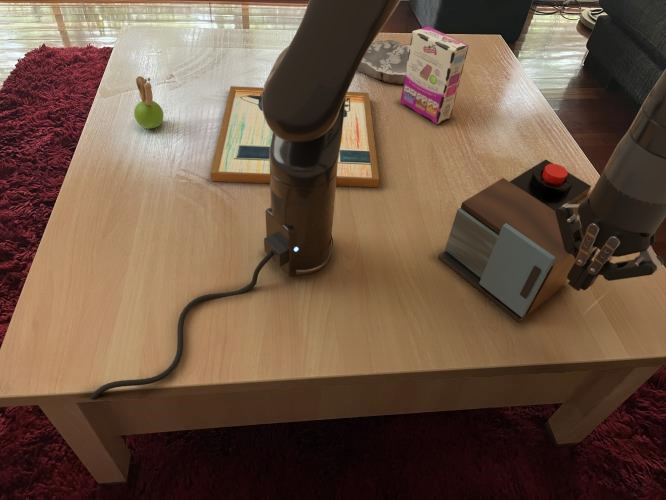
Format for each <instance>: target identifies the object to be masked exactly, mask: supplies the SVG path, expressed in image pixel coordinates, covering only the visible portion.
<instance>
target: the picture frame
mask: <svg viewBox="0 0 666 500" xmlns="http://www.w3.org/2000/svg"><path fill="white" fill-rule="evenodd" d="M229 87H230V88H229V91H228V96H227V99H226V103H225V104H226V105H225V108H224V113H223V116H222V121H221V126H220V130H219V134H218V138H217V142H216V146H215V151H214V156H213V160H212V164H211V168H210V172H209V173H210V180H211V182H225V183H228V182H229V183H250V184H251V183H253V184H270V163H269V150H270V144H271V139H272V133H273V132H272V130H271V129H270V128H269V126H268V125H267V122H266V120H265V118H264V115H263V111H262V91H263V88H264V87H256V86H235V85H230V86H229ZM371 108H372V107H371V99H370V93H369V92H360V91H347V94H346V100H345V110H344V120H343V130H342V139H341V146H340V152H339V158H338V168H337V180H336V187H356V188H358V187H359V188H379V184H380V176H379V175H380V174H379V166H378V158H377V151H376V141H375V134H374V124H373V116H372V109H371Z"/></svg>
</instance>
